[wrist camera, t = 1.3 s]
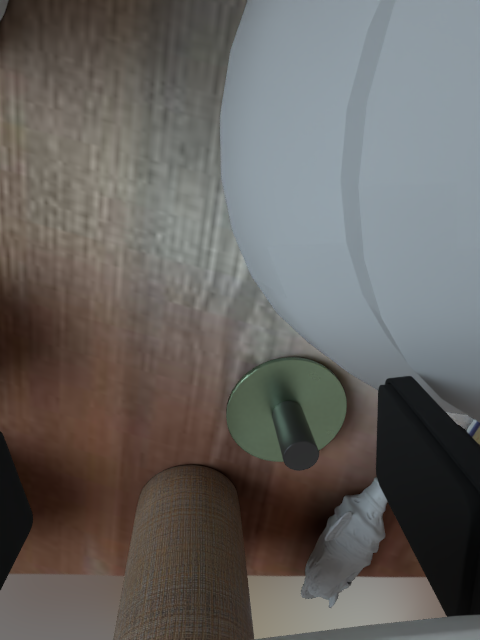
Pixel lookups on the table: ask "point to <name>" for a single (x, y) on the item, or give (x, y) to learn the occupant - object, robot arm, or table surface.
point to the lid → (286, 411)
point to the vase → (363, 182)
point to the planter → (186, 561)
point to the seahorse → (346, 544)
